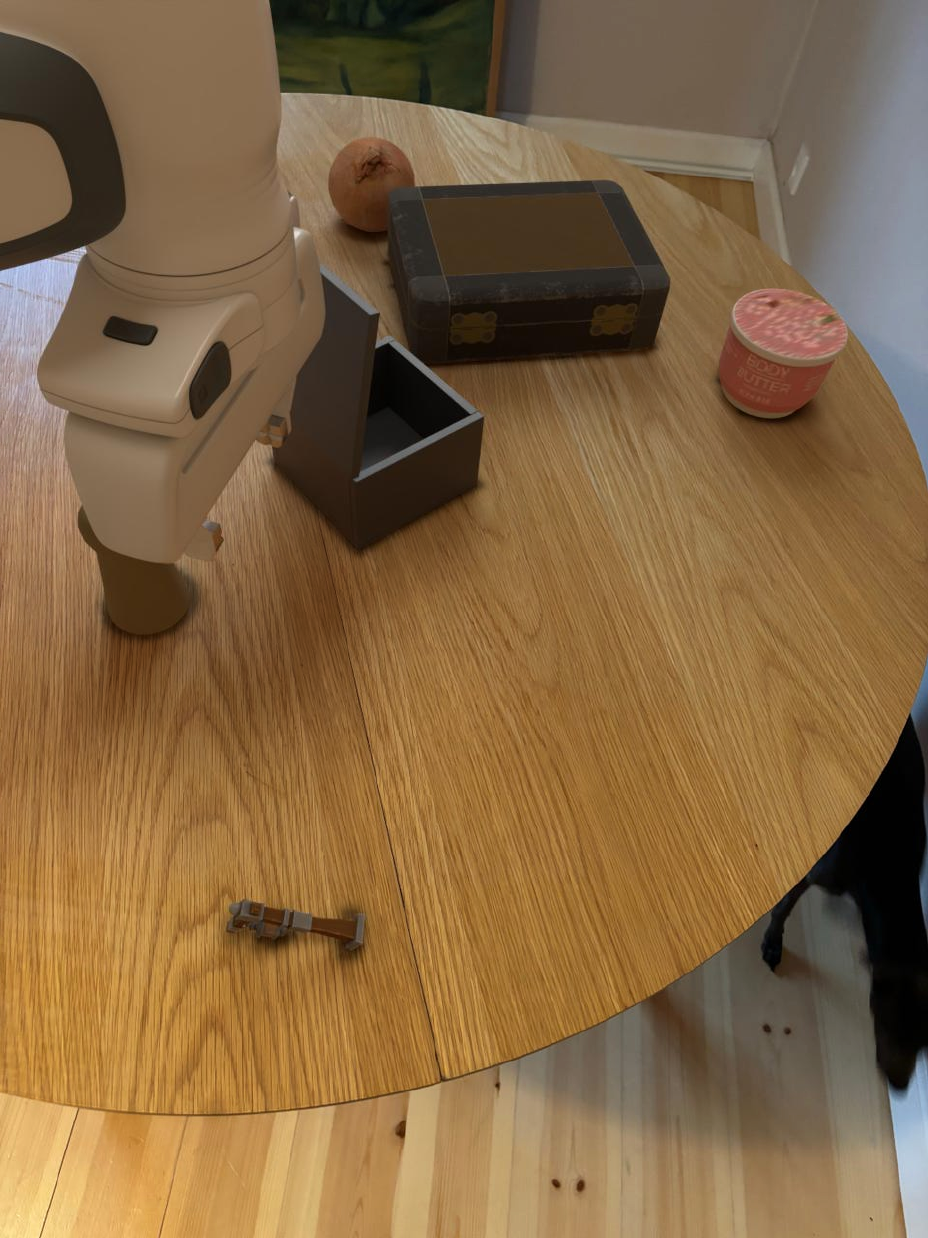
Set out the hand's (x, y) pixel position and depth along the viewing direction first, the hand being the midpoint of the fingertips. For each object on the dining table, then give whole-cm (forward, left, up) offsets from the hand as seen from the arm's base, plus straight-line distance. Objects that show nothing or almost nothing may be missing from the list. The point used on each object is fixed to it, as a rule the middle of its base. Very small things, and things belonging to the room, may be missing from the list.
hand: (241, 491), depth 52 cm
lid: (+12, +11, -3) cm, 17 cm away
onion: (+40, +43, -18) cm, 61 cm away
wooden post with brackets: (-10, -18, -18) cm, 27 cm away
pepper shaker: (-5, +10, -18) cm, 21 cm away
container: (+54, -2, -18) cm, 57 cm away
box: (+17, +11, -18) cm, 27 cm away
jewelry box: (+44, +23, -18) cm, 53 cm away
